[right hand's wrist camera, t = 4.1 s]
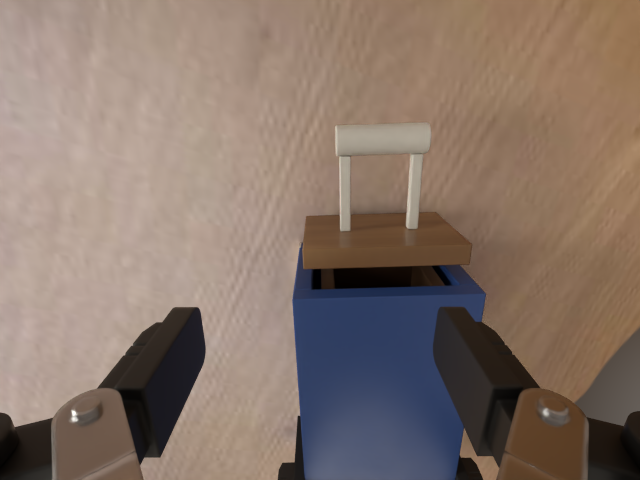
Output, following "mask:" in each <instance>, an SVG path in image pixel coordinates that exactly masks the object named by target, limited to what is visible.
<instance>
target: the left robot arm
mask: <svg viewBox="0 0 640 480" xmlns="http://www.w3.org/2000/svg"><path fill="white" fill-rule="evenodd" d="M278 480H305V474H304V460H303V446H302V431H301V417H300V416H298V422H297V437H296V452H295V463H282V465H281V467H280V469H279V474H278ZM455 480H483V478H482V476H481V473H480V471H479V469H478V467H477V464H476V463H475V462H474V461H473V460H472V459H471V458H461V457H460V455H459V460H458V467H457V473H456V478H455Z"/></svg>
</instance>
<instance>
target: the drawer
mask: <svg viewBox="0 0 640 480" xmlns="http://www.w3.org/2000/svg"><path fill="white" fill-rule="evenodd" d="M430 145H431V126H430V124H429V123H428V122H413V123H383V124H353V125H336V126H335V150H336V156H339V174H340V215H327V216H306V223H305V232H304V241H303V249H302V252H303V268H304V269H321V289H353V288H387V287H421V286H445V284H444V283H443V282H442V280H441V279H440V277H439V276H438V275H437V273H436V272H435V271H434V269H433V268H432V266H435V265H468V264H470V257H471V249H472V244H471V243H470V242H469V241H468V240H467V239H465V238H464V237H463V236H462V235H461V234H460V233H459V232H457V231H456V230H455V229H454V228H453V227H452V226H451V225H449V224H448V223H447V222H446V221H445V220H444V219H443V218H442V217H440V216H439V215H438V214H437V213H436V212H425V213H419V205H420V192H421V179H422V166H423V154H421V153H427V152H428V151H429V148H430ZM389 154H410V168H409V184H408V200H407V213H392V214H360V215H351V157H350V156H358V155H389Z"/></svg>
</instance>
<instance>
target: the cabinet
mask: <svg viewBox="0 0 640 480" xmlns="http://www.w3.org/2000/svg"><path fill="white" fill-rule="evenodd" d="M302 249H303V243H300V246H299V256H298V263H297V271H296V278H295V285H294V292H293V299H292V302H293V316H294V330H295V345H296V359H297V374H298V388H299V402H300V417H301V431H302V446H303V460H304V474H305V480H455V478H456V473H457V467H458V460H459V454H460V448H461V442H462V436H463V430H464V426H463V424H462V422H461V419H460V417H459V415H458V413H457V411H456V408H455V406H454V404H453V402H452V400H451V397H450V395H449V393H448V391H447V389H446V386H445V384H444V382H443V380H442V378H441V375H440V373H439V371H438V369H437V367H436V364H435V361H434V357H433V341H434V334H435V327H436V320H437V313H438V310H439V308H440V307H465V308H466V310H467V311H468V312H469V314H470V315H471V316H472V318H473V319H474V320H475V322H481V321H482V315H483V309H484V303H485V297H486V293H485V292H484V291H483V290H482V289H481V288H480V287H479V286H478V285H477V284H476V283H475V281H474V280H473V279H472V278H471V277H470V276H469V275H468V274H467V273H466V272H465V270H464V269H463V268H462V267H461V266H460V265H435V266H432V268H433V269H434V271H435V272H436V273H437V275H438V276H439V277H440V279H441V280H442V282H443V283H444V284H445V286H421V287H387V288H353V289H321V269H304V268H303V252H302Z"/></svg>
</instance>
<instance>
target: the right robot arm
mask: <svg viewBox="0 0 640 480" xmlns="http://www.w3.org/2000/svg"><path fill="white" fill-rule="evenodd" d="M433 357H434V361H435V364H436V367H437V369H438V371H439V373H440V375H441V378H442V380H443V382H444V384H445V386H446V389H447V391H448V393H449V395H450V397H451V400H452V402H453V404H454V406H455V408H456V411H457V413H458V415H459V417H460V419H461V422H462V424H463V426H464V428H465V430H466V433H467V435H468V437H469V439H470V441H471V443H472V446H473V448H474V450H475V452H476V454H477V456H493V457H494V459H495V461H496V463H497V465H498V467H499V472H498V476H497V479H496V480H640V411H637V412H633V413H631V414H630V415H629V416H628V418H627V420H626V423H625V425H624V426H620V425H616V424H612V423H608V422H603V421H600V420H595V419H591V418H587V417H586V416H585V414H584V413H583V412H582V410H581V409H580V408H579V407H578V406H577V405H575V404H574V403H573V402H572V401H570V400H569V399H567V398H565V397H564V396H562V395H560V394H558V393H555V392H553V391H550V390H546V389H541V388H540V387H539V386H538V384H537V383H536V382H535V380H534V379H533V378H532V377H531V375H530V374H529V373H528V372H527V370H526V369H525V368H524V367H523V365H522V364H521V363H520V362H519V360H518V359H517V358H516V357H515V355H512V352H511V350H510V349H509V348H508V347H507V345H505V344H504V342H503V340H502V339H501V338H500V337H499V335H498V334H497V333H496V332H495V331H494V330H493V329H491V328H490V327H488V326H487V325H485V324H484V323H482V322H475V320H474V319H473V318H472V316H471V315H470V314H469V312H468V311H467V310H466V308H465V307H440V308H439V310H438V313H437V320H436V327H435V334H434V341H433ZM204 359H205V340H204V333H203V326H202V319H201V313H200V310H199V308H198V307H175V308H173V309H172V310H171V311H170V313H169V314H168V315H167V317H166V318H165V320H164V321H163V322H162V323H155V324H154V325H152V326H151V327H149V328H148V329H146V330H145V331H143V332H142V333H141V334H140V336H139V337H138V338H137V339H136V341H135V342H134V343H133V346H131V347H130V348H129V349H128V351H127V352H126V355H125V356H123V357H122V358H121V359H120V361H119V362H118V363H117V364H116V366H115V367H114V368H113V369H112V371H111V372H110V373H109V374H108V376H107V377H106V378H105V379H104V381H103V382H102V383H101V384H100V386H99V387H98V388H97V389H94V390H90V391H87V392H85V393H82V394H80V395H78V396H76V397H75V398H73V399H71V400H70V401H68V402H67V403H66V404H65V405H63V406H62V407H61V408H60V409H59V410H58V412H57V413H56V414H55V416H54V417H53V418H51V419H47V420H43V421H39V422H35V423H30V424H26V425H22V426H18V427H14V425H13V422H12V420H11V418H10V416H9V415H7V414H5V413H0V480H144V479H143V476H142V472H141V468H140V465H141V463H142V461H143V459H144V457H161V455H162V452H163V450H164V448H165V446H166V444H167V442H168V439H169V437H170V435H171V433H172V431H173V429H174V426H175V424H176V422H177V420H178V418H179V416H180V413H181V411H182V409H183V407H184V405H185V403H186V400H187V398H188V396H189V394H190V392H191V390H192V387H193V385H194V383H195V381H196V379H197V377H198V374H199V372H200V370H201V368H202V366H203V363H204Z"/></svg>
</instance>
